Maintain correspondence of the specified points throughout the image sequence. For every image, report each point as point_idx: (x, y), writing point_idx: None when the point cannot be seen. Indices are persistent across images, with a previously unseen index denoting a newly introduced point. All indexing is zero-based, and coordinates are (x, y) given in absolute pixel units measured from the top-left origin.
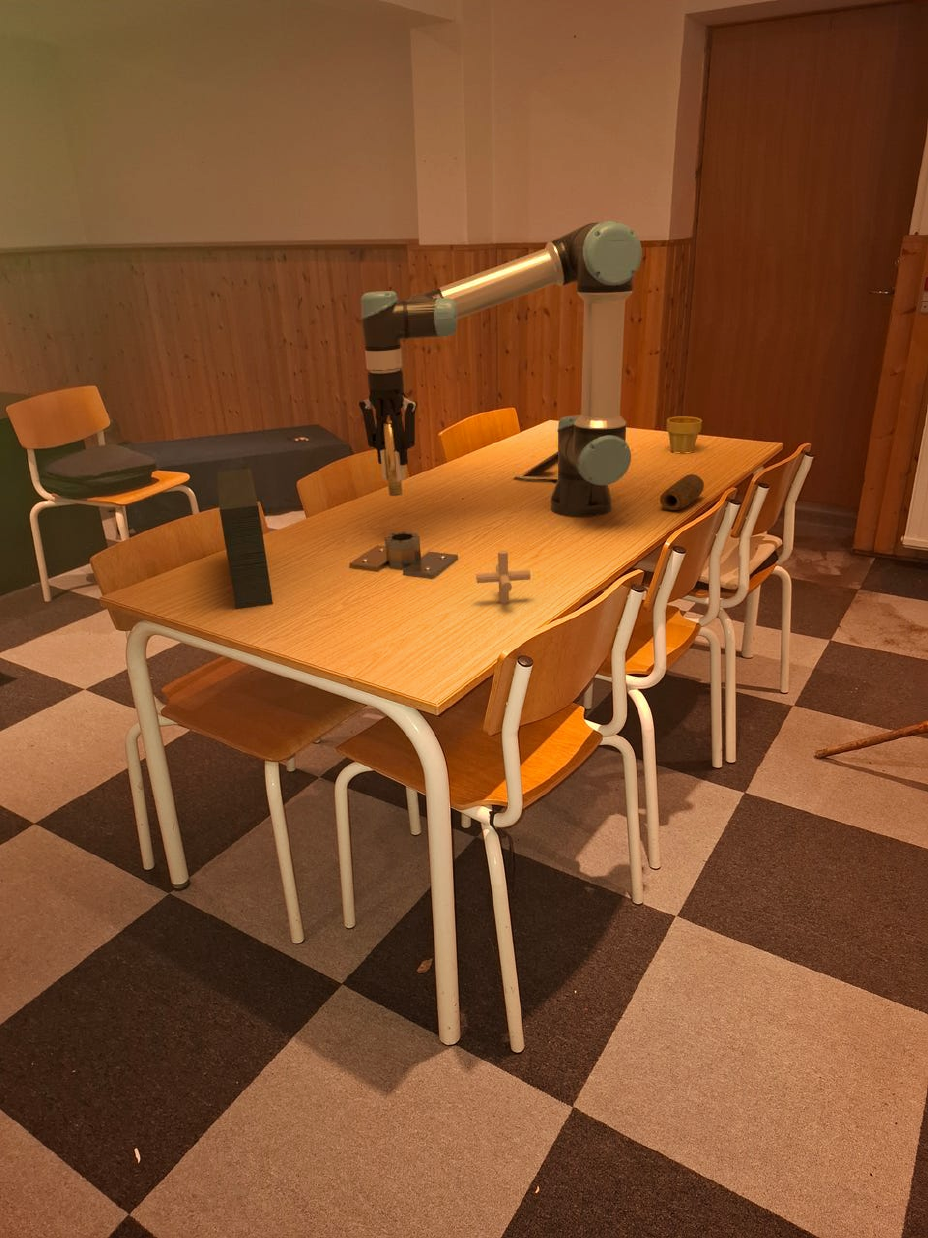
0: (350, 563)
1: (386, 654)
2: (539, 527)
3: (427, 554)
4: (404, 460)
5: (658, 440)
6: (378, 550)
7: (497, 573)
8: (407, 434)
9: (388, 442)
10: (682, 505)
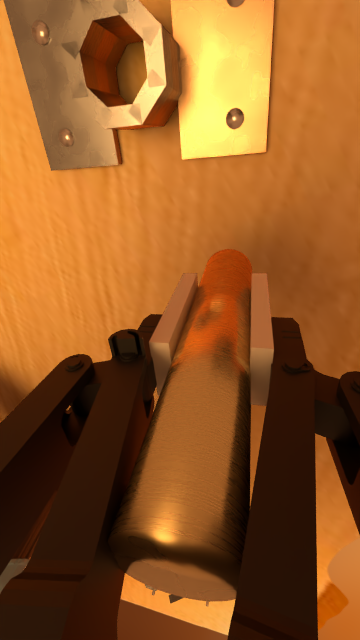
0: None
1: None
2: (54, 362)
3: (108, 142)
4: (140, 327)
5: (126, 589)
6: (241, 110)
7: None
8: (20, 421)
9: (194, 380)
10: None
